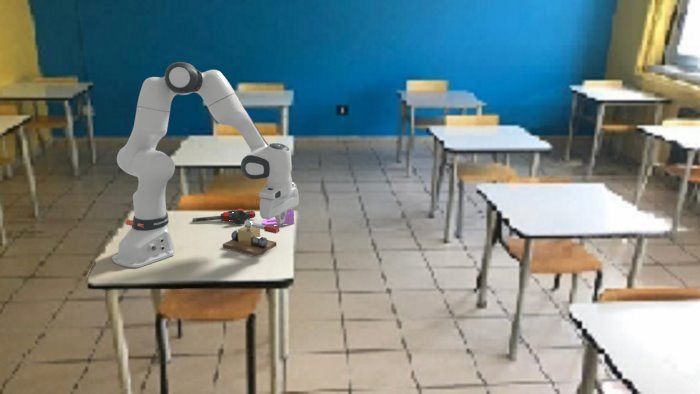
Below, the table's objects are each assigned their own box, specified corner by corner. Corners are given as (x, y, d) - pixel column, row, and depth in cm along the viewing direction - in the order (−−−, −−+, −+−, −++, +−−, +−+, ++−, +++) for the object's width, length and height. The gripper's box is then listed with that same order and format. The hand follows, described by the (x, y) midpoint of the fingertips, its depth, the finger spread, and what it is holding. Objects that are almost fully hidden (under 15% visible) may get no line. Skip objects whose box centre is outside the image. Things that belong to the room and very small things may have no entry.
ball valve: (260, 250, 223) (260, 233, 221) (229, 242, 230) (228, 225, 228) (270, 245, 227) (269, 228, 225) (239, 237, 234) (238, 221, 232)
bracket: (290, 219, 257) (290, 204, 255) (294, 224, 252) (293, 208, 250) (260, 223, 253) (259, 207, 250) (263, 227, 248) (262, 211, 245)
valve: (256, 216, 265) (255, 224, 251) (196, 222, 262) (191, 230, 248) (255, 202, 264) (254, 209, 250) (194, 207, 261) (190, 214, 246)
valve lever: (243, 226, 226) (243, 221, 225) (248, 224, 228) (247, 219, 227) (275, 234, 219) (275, 228, 219) (279, 231, 222) (279, 226, 221)
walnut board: (256, 257, 220) (256, 253, 220) (222, 247, 228) (222, 244, 227) (276, 245, 230) (276, 242, 230) (243, 237, 238) (243, 233, 237)
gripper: (288, 179, 231) (289, 213, 236) (256, 193, 214) (257, 230, 219) (302, 182, 228) (303, 216, 233) (270, 196, 211) (271, 233, 216)
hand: (280, 223), depth 226 cm, fingers closed
